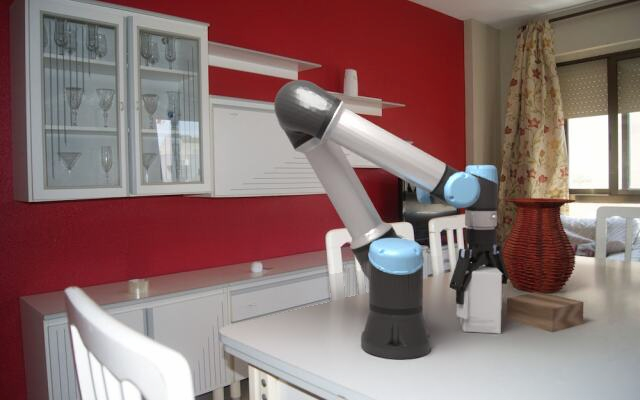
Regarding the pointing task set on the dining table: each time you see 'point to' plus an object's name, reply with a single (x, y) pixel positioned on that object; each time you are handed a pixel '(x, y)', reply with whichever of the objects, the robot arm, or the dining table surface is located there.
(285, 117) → the robot arm
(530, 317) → the walnut base block
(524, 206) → the vase
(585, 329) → the dining table surface
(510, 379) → the dining table surface
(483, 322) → the supplement box
